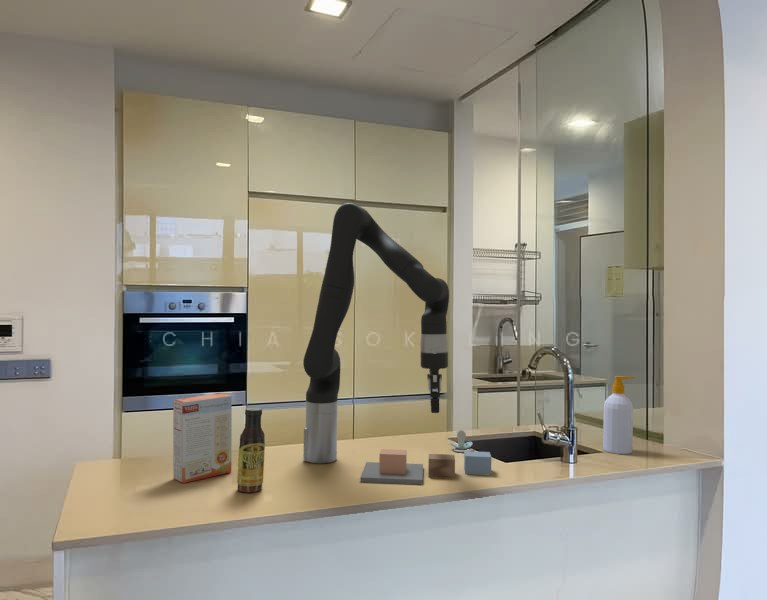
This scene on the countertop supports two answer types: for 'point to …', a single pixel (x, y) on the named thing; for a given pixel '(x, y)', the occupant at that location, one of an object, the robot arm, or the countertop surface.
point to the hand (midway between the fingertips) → (434, 409)
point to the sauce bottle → (251, 453)
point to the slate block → (477, 462)
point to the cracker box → (202, 437)
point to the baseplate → (391, 477)
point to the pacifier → (462, 443)
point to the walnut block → (441, 466)
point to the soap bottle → (618, 420)
